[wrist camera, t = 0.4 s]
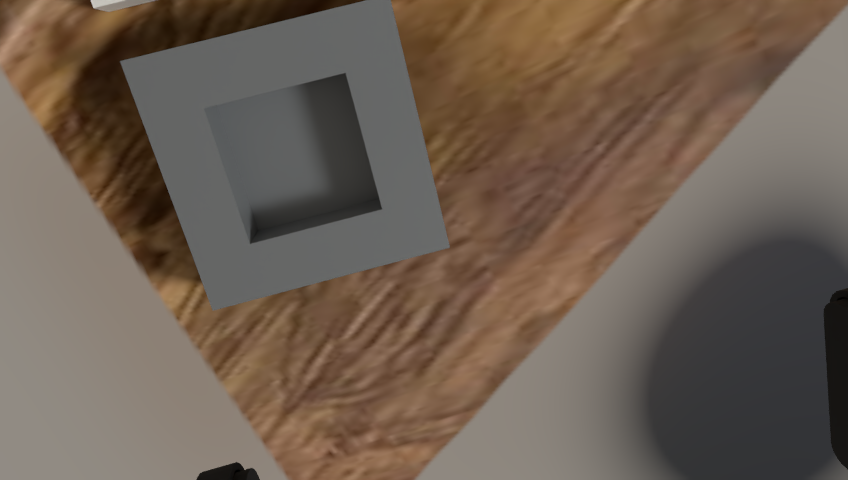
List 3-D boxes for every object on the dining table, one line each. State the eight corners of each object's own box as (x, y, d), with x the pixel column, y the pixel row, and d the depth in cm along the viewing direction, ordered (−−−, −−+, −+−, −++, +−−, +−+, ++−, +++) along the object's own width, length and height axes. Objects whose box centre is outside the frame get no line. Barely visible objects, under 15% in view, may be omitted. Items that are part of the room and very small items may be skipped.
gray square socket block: (146, 62, 34) (119, 60, 30) (385, 3, 35) (389, -6, 31) (227, 286, 38) (212, 310, 34) (440, 230, 39) (449, 247, 35)
